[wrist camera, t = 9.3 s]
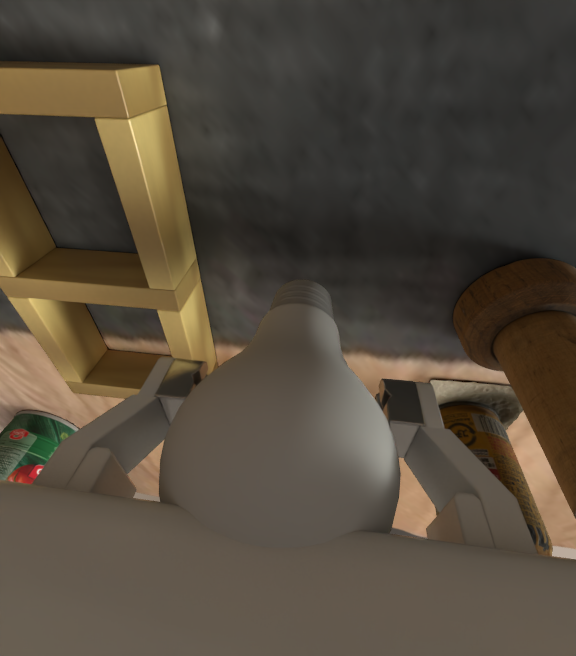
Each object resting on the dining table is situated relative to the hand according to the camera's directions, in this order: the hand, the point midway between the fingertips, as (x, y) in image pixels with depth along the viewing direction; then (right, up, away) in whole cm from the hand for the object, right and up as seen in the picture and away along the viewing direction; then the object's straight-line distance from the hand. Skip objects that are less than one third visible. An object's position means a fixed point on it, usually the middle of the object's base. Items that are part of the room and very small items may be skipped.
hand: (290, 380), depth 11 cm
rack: (-11, +6, +10) cm, 15 cm away
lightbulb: (+1, +4, +4) cm, 5 cm away
